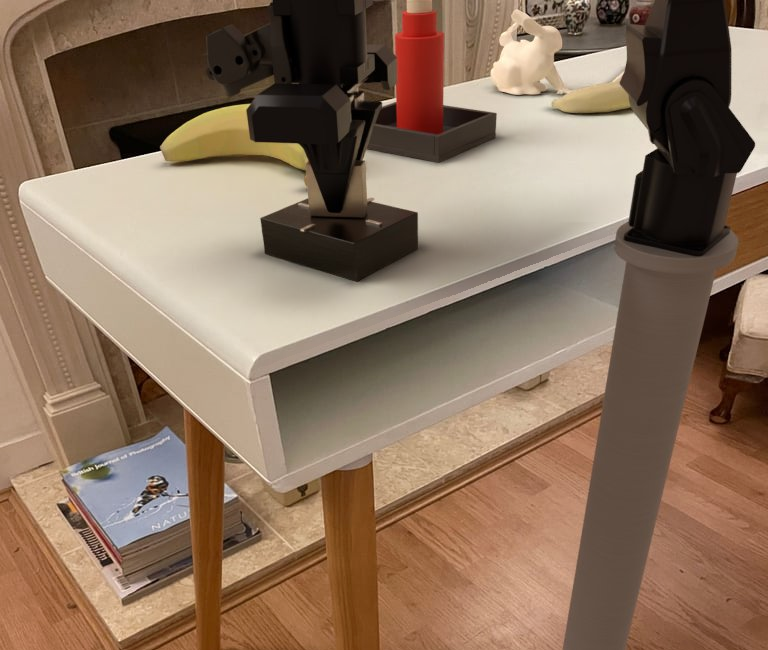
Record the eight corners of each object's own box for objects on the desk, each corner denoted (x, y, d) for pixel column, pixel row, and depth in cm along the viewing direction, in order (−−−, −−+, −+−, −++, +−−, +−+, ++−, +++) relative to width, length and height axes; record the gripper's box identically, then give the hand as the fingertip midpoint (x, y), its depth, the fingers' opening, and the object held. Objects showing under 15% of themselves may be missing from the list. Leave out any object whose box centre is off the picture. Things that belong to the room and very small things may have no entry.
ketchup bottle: (451, 133, 91) (454, -13, 82) (425, 144, 88) (424, -7, 79) (415, 127, 93) (414, -16, 84) (387, 137, 90) (383, -9, 81)
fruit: (682, 103, 100) (687, 74, 98) (584, 121, 95) (588, 90, 93) (643, 93, 105) (647, 64, 103) (549, 109, 100) (551, 79, 98)
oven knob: (367, 212, 64) (365, 156, 62) (364, 218, 63) (361, 162, 61) (314, 210, 65) (309, 155, 62) (309, 216, 64) (304, 161, 61)
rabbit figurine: (576, 93, 106) (585, 8, 100) (543, 104, 102) (550, 16, 96) (504, 82, 113) (508, 1, 106) (470, 92, 108) (472, 9, 102)
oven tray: (495, 137, 91) (496, 112, 89) (438, 162, 84) (439, 136, 83) (403, 122, 97) (403, 99, 96) (344, 144, 91) (342, 119, 89)
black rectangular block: (421, 247, 66) (420, 208, 64) (353, 283, 61) (351, 242, 59) (330, 223, 71) (328, 187, 69) (261, 255, 66) (256, 217, 64)
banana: (252, 71, 88) (357, 129, 77) (266, 120, 92) (367, 181, 81) (146, 127, 85) (240, 196, 74) (166, 174, 89) (258, 246, 78)
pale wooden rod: (635, 69, 117) (636, 64, 116) (603, 98, 104) (603, 92, 103) (630, 69, 117) (630, 63, 116) (597, 98, 104) (597, 92, 104)
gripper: (258, -38, 63) (281, 169, 72) (151, -5, 49) (198, 246, 59) (396, -41, 60) (400, 174, 70) (326, -6, 46) (343, 255, 56)
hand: (338, 208), depth 64 cm, fingers closed on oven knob
